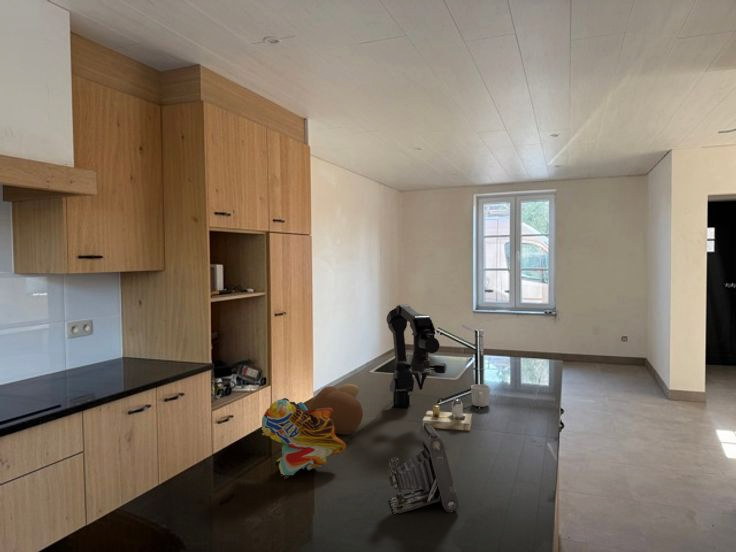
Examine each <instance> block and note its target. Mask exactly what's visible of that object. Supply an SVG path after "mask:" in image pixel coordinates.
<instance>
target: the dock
mask: <svg viewBox="0 0 736 552" xmlns="http://www.w3.org/2000/svg"><path fill="white" fill-rule="evenodd" d="M432 415H433V410H427V411H426V413H425V416H423V418H422V427H423V426H424V423H429V425H431V426H432V427H433V428H434V429H444V430H445V429H446V430H457V431H458V430H459V431H470V430H471V427H472V423H473V413H464V412H463V420H452V411H451V412H449V411H440V415H445V416H449V418H438V417H432Z"/></svg>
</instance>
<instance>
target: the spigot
mask: <svg viewBox="0 0 736 552" xmlns="http://www.w3.org/2000/svg"><path fill="white" fill-rule="evenodd" d="M463 407H464V406H463V402H462V399H460V398H453V401H452V402H451V412H452V420H463V413H464V412H463V411H464V410H463V409H464V408H463Z"/></svg>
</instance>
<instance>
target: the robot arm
mask: <svg viewBox="0 0 736 552" xmlns="http://www.w3.org/2000/svg"><path fill="white" fill-rule="evenodd" d="M408 322H409V327H410V328H411V332H412V333H411V335H412V336H413V341H412V342H413V344H412V345H413V346H412V349H413V351H412V352H413V353H412V355H413V356H412V359H411V361H410V363H409V361H407V360H408V359H407V348H406V341H405V340H406V338H405V331H406V329H407V327H408ZM386 323H387V326H388V329H389V330H390V332H391V333H392V337H393V339H392V340H393V349H394V350H393V351H394V359H395V361H394V363H395V369H394V372H393V374H392V380H391V382H390V384H389V391H390V392H391V393H392V394H393V396H392V397H393V401H392V402H393V404H392V408H399V409H408V408H409V407H410V405H411V404H412V403H411V401H412V400H411V399H412V398H411V397H412V396H411V394H410V393H412V392H414V386H415V379H416V383H417V385H418V388H419V390H420V391H422V390H423V388H424V385H425V382H426V379H427V376H428V375H430V374H431V373H432V371H433V372H434V373H435V374H446V372H447V363H445V362H436V363H435V364H431V359H430V358H429V355H430V354H436V353H437V352H438V351H439V349H440V342H439V340H438V339H437V338H435V335H436V329H435V326H434V323H433V321H432V318H431V316H429V315H428V314H424V313H423V314H421V313H419V312H417V310H414V309H413V308H412V307H410V304H398V305H396V306H395V308H393V309H391V310H389V312H388V313H387V315H386ZM413 376H414V377H413ZM414 378H415V379H414Z"/></svg>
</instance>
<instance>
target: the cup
mask: <svg viewBox="0 0 736 552" xmlns="http://www.w3.org/2000/svg"><path fill="white" fill-rule="evenodd" d="M470 393H471V403H472V404H473V406H476V407H478V406H479V407H480V408H481V407H482V408H485V407H488V405H489V402H490V396H491V395H490V393H491V387H490V386H489V385H487V384H480V383H478V384H476V383H475V384H472V385H471V386H470Z"/></svg>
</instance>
